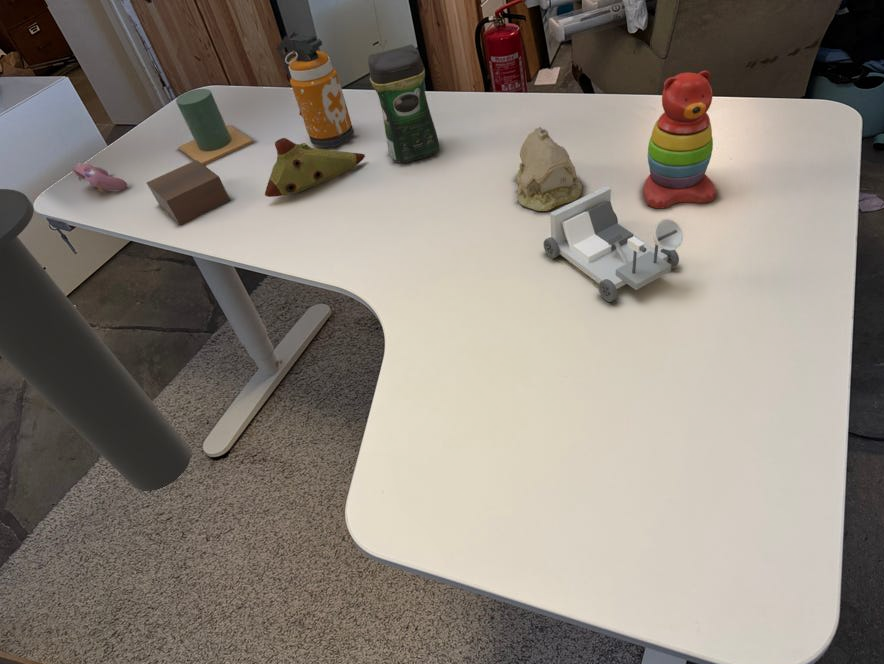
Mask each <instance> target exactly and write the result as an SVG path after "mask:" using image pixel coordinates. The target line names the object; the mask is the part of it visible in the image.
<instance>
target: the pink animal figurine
mask: <svg viewBox="0 0 884 664" xmlns="http://www.w3.org/2000/svg"><path fill="white" fill-rule="evenodd" d="M71 172H72V173H74V174H75V175H76V176H75V179H77V181H79V182H83V181H87V182H88V183H89V184H90V185H91V186H94V187H95V188H98V190H99V192H105V193H108V192H109V191H113V192H114V191H115V192H117V191H118V192H119V191H124V190H125V189H127V187H128V183H127V181H125V180H124V179H123V178H120V177H115V176H110V175H109V172H108V171H107V170H106V169H104V168H102V167H97V166H93V164H90V163H85V162H82V163H81V162H78V164H76V165H74V167H73V169H72V170H71Z"/></svg>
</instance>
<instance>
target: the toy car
mask: <svg viewBox="0 0 884 664" xmlns="http://www.w3.org/2000/svg"><path fill="white" fill-rule="evenodd" d="M611 195H612V189H611V187H609V186H607V185H606V186H603V187H601V188H600V189H597V190H594V191H593V192H591V193H589V194H586V195H585V196H582V197H580V198H577V199H576V200H574V201H571V202H569V203H567V204H566V205H564V206H562V207H559V208H558V209H556V210H554V211H551V212H550V213H549V217H550V218H549V219H550V237H547V238H545V239H544V240H543V249H544V251H545V254H546V255H547V256H548V257H549V258H550V259H556V258H558V257H559V256H562V257H563V258H564V259H565V260H567V261H568V262H569V263H571V264H572V265H573V266H574V267H576V268H578V269H579V270H580V271H581V272H582V273H584V274H585V275H586V276H588V277H590V279H592V280H593V281H594V282H596V283H597V284H598V291H599V294H600V296H601V297H602V299H604V300H605V301H606V302H609V303H611V302H613V301H615V300H616V299H618V289H621V288H622V287H623V286H626V285H628V286H629V287H631V288H632V289H634V290H635V291H638V290H639V289H641V288H643V287H645V286H647V285H648V284H650V283H652V282H654V281H656V280H658V279H659V278H661V277H663V276H665V275H666V274H668V273H670V272H671V271H672V269H674V268H675V267H677V266H678V265H679V263H680V256H679V254H678V252H677V249H678V248H679V247H680V246H681V245H682V243H683V241H684V233H683V230H682V228H681V225H680V224H679V223H678V222H677V221H675V220H674V219H671V218H664V219H661V220H660V221H659V222H658V223H657V224H656V226H655V228H654V231H653V233H652V234H653V235H652V240H653V243H654V246H653V245H652V244H650V243H649V242H647V241H645V240H644V239H642V238H641V237H640V236H638V235H636V234H635V233H633V232H632V231H630V230H628V229H627V228H625V227H624V226H622V225H621V224H619V219H618V216H617V214H616V212H615V211H614V208H613V204H612V201H611V199H612V197H611ZM659 248H661V249H660V250H659Z"/></svg>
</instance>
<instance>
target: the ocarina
mask: <svg viewBox="0 0 884 664" xmlns="http://www.w3.org/2000/svg"><path fill="white" fill-rule="evenodd" d="M274 147H275V149H276V155H277V157H276V161H275V163H274V164H273V167H272V169H271V172H270V176H269V178H268V182H267V185H266V187H265V191H264V196H265V197H269V198H274V197H275V198H276V197H282V196H288V195H293V194H297V193H300V192H302V191H303V192H304V191H305V190H308V189H311V188H313V187H317V186H318V185H320V184H323V183H325V182H327V181H329V180H331V179H334V178H336V177H338V176H340V175H342V174H344V173H345V172H347V171H349V170H351V169H353V168H355V167H356V166H357V165H358V164H360V163H361V162H362V161H363V160H364V159H365V157H366V154H365V153H359V152H350V151H343V150H341V151H340V150H333V149H324V148H317V147H311V146H310V145H309V144H307V143H306V142H302V143H295V142H293V141H291V140H290V139H289V138H286V137H282V138H279V139H278V140H276V141H275V142H274Z"/></svg>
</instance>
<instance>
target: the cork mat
mask: <svg viewBox="0 0 884 664" xmlns="http://www.w3.org/2000/svg"><path fill="white" fill-rule="evenodd" d="M226 127H227V129H228V131H229V134H230V136H231V138H232V140H231V142H230V143H229V144H228V145H226V146H225V147H223V148H220V149H218V150H214V151H201V150H200V149H199V148H198V146H197V144H196V142H195V140H194V139H193V140H191V141H188V142H185V143H183V144H182V145H179V146H178V147H177V148H178V150H179V151H181V152H182V153H183V154H185V155H186V156H187V157H189V158H190V160H191V159H192V160H193V161H195V160H198V161H199V162H200V163H202V164H203V165H204V166H206V165H208V164H210V163H212V162H214V161H217V160H218V159H220V158H223V157H225V156H227V155H229V154H232V153H234V152H236V151H238V150H240V149H242V148H245V147H247V146H249V145H252V144H253V143H254V140H253V139H252V138H250V137H249V136H248V135H246V134H244V133H242V132H241V131H240V130H238V129H236V128H235V127H233V126H231V125H230V124H227V125H226Z"/></svg>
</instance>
